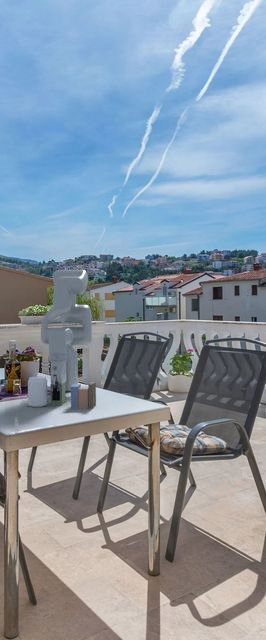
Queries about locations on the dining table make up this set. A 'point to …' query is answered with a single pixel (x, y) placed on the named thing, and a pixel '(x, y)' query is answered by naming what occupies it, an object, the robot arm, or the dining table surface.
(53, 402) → the olive book
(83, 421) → the dining table surface
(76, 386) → the blue book
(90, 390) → the walnut bookend
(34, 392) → the beverage can
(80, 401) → the terracotta book
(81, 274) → the robot arm
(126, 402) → the dining table surface
